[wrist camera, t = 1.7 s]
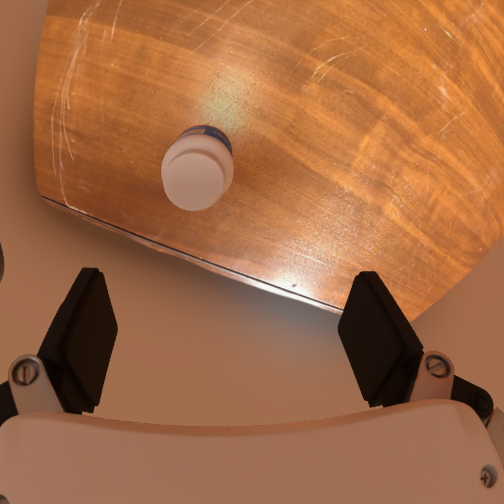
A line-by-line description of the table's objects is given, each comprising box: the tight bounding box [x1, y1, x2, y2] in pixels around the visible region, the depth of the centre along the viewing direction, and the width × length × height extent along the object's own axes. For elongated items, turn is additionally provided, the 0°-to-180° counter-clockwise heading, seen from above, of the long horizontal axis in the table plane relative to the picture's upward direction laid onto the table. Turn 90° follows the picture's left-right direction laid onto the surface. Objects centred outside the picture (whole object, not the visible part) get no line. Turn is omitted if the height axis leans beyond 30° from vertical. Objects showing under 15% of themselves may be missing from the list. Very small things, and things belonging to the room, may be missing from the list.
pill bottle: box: [161, 125, 234, 211], centre depth 23 cm, size 6×5×10 cm
